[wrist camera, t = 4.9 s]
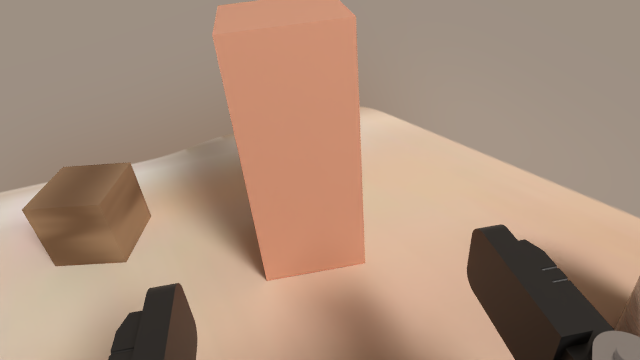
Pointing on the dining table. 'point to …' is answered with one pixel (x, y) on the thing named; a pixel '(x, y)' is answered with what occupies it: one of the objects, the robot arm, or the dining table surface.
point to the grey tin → (631, 313)
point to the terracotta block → (296, 128)
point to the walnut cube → (89, 214)
